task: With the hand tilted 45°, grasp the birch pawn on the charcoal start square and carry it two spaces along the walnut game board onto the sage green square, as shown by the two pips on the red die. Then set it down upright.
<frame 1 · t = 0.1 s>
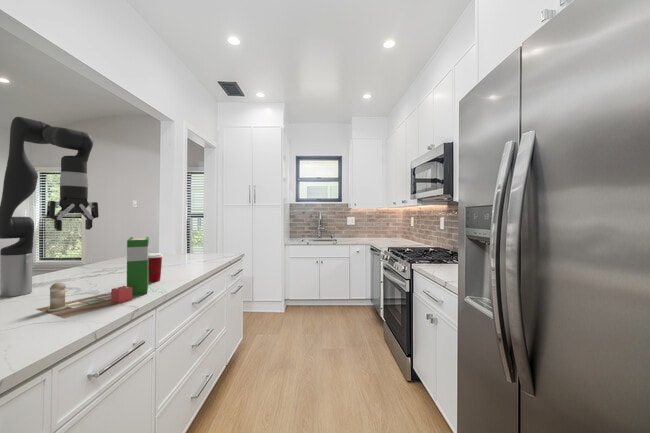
hand: (74, 230, 101), 29 cm above the worktop, tool pointing down, fingers open, 8 cm apart
paper cup: (154, 281, 147), on the worktop
birch pawn: (57, 309, 102), resting on game board
game board: (87, 304, 108), on the worktop
red die: (121, 300, 113), resting on game board
hardback book: (138, 290, 129), on the worktop
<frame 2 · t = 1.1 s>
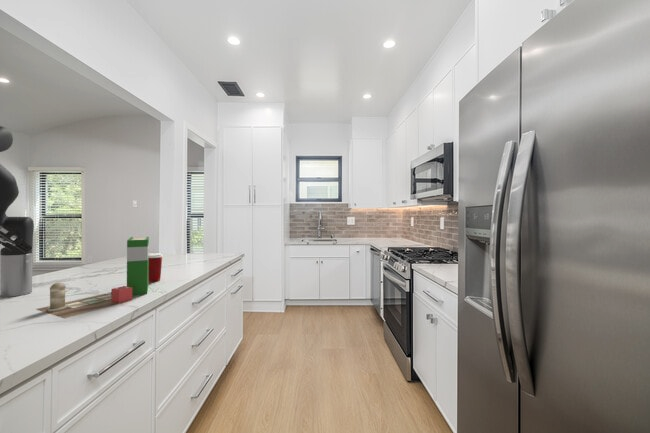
hand: (22, 249, 93), 23 cm above the worktop, tool tilted 45°, fingers open, 8 cm apart
nothing on the worktop moved.
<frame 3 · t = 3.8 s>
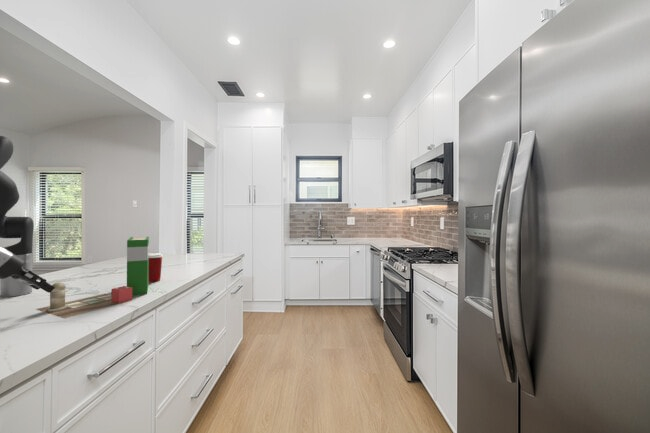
hand: (45, 288, 99), 8 cm above the worktop, tool tilted 45°, fingers open, 8 cm apart
nothing on the worktop moved.
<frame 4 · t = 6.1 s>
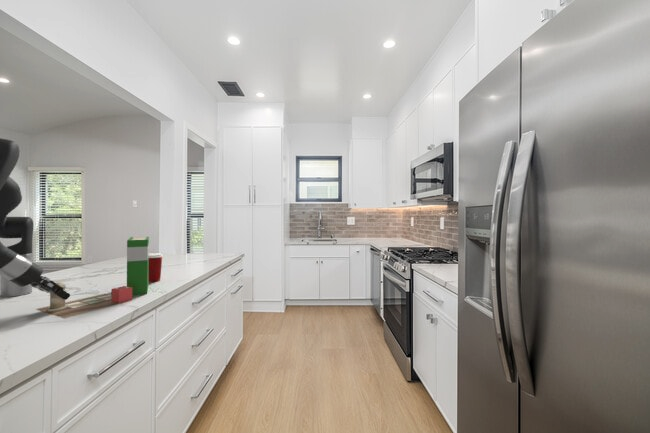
hand: (64, 296, 104), 4 cm above the worktop, tool tilted 45°, fingers closed on birch pawn, 4 cm apart
birch pawn: (57, 309, 102), resting on game board, touching gripper
everything else where it was.
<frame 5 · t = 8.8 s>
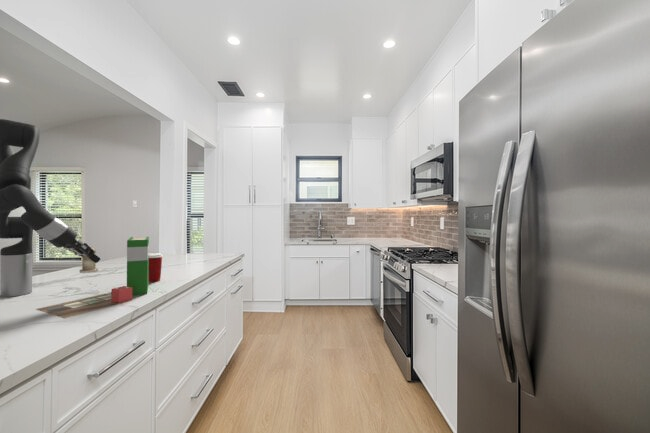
hand: (94, 260, 113), 16 cm above the worktop, tool tilted 45°, fingers closed on birch pawn, 4 cm apart
birch pawn: (88, 271, 111), point 12 cm above the worktop, touching gripper
everything else where it was.
when the fingers open (5 cm above the worktop, at t = 11.8 s): birch pawn drops 1 cm, resting on game board.
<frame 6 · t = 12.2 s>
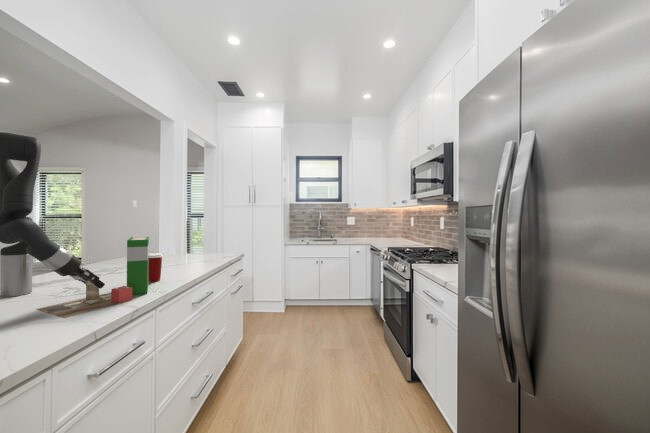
hand: (96, 285, 114), 6 cm above the worktop, tool tilted 45°, fingers open, 7 cm apart
birch pawn: (92, 300, 112), resting on game board
everything else where it was.
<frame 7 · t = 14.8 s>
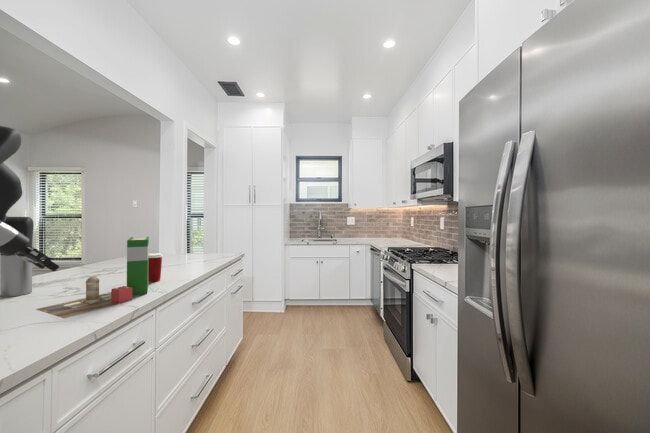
hand: (50, 267, 100), 16 cm above the worktop, tool tilted 45°, fingers open, 8 cm apart
nothing on the worktop moved.
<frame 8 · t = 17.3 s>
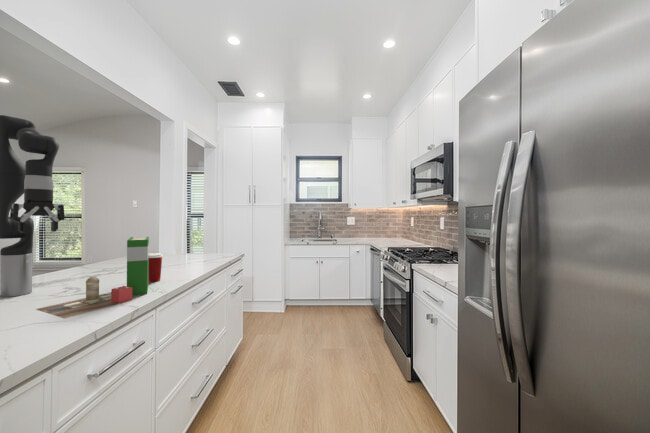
hand: (38, 232, 104), 28 cm above the worktop, tool pointing down, fingers open, 8 cm apart
nothing on the worktop moved.
at the end: birch pawn 0.1 cm from the target spot, resting on game board; birch pawn tilted 0°; the gripper is holding nothing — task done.
